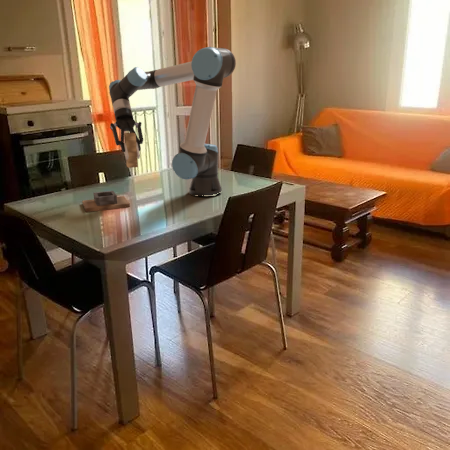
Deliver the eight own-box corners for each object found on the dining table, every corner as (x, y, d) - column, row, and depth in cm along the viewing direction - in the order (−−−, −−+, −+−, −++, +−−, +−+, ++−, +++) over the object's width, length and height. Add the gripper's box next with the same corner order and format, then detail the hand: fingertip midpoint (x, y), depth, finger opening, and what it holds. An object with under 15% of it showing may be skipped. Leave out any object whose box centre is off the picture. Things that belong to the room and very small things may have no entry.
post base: (124, 199, 204) (123, 188, 202) (129, 206, 193) (128, 195, 192) (82, 203, 197) (81, 192, 195) (85, 212, 187) (84, 200, 185)
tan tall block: (135, 165, 197) (133, 132, 192) (137, 167, 194) (135, 133, 189) (126, 165, 196) (124, 133, 191) (128, 167, 192) (126, 134, 188)
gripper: (141, 117, 205) (152, 160, 196) (102, 118, 199) (111, 163, 190) (143, 106, 198) (154, 150, 190) (103, 107, 192) (112, 153, 184)
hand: (133, 157), depth 190 cm, fingers closed on tan tall block, 4 cm apart
